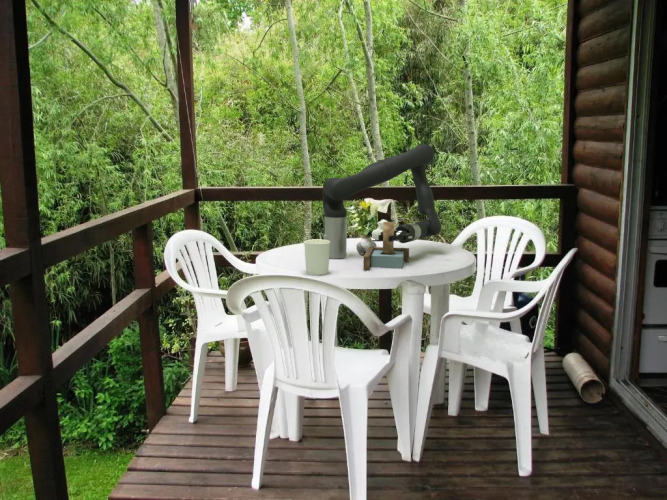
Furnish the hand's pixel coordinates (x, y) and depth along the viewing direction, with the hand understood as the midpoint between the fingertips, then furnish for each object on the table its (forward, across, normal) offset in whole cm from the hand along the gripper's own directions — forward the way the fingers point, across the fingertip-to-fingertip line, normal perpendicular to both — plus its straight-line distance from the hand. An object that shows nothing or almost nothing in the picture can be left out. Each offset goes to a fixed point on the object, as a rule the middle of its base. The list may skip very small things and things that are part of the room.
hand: (384, 238), depth 258 cm
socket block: (-3, 0, +11) cm, 12 cm away
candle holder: (+26, -12, +11) cm, 31 cm away
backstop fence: (-1, +1, +11) cm, 11 cm away
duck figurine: (-48, -35, +12) cm, 61 cm away
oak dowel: (-3, 0, +8) cm, 8 cm away
